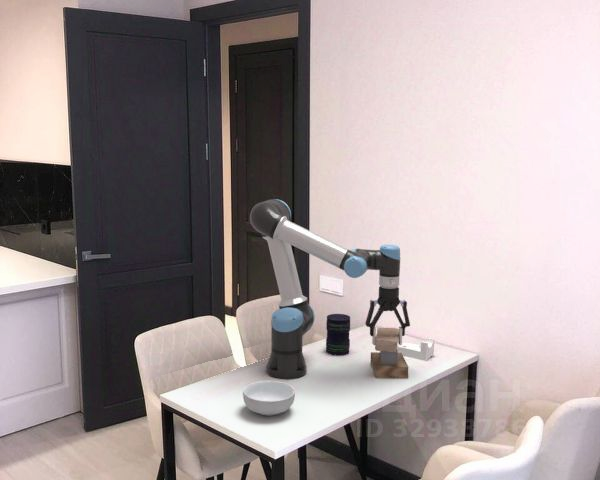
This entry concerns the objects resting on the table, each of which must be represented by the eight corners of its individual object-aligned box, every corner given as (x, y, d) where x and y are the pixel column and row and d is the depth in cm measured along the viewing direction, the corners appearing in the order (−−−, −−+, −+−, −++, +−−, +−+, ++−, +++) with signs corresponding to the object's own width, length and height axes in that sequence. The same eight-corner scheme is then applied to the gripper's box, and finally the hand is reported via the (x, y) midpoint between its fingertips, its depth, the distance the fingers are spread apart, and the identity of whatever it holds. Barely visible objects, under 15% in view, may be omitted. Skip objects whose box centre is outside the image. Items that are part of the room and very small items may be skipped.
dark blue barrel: (320, 352, 271) (321, 316, 269) (335, 346, 278) (336, 312, 276) (340, 357, 265) (341, 321, 262) (354, 351, 272) (355, 316, 270)
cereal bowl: (233, 407, 215) (233, 386, 214) (276, 396, 224) (276, 376, 223) (260, 426, 201) (260, 404, 200) (304, 414, 211) (305, 393, 210)
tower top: (380, 364, 244) (381, 351, 244) (380, 353, 257) (380, 340, 256) (397, 365, 244) (397, 352, 243) (395, 353, 257) (396, 341, 256)
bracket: (433, 356, 268) (434, 339, 267) (426, 361, 263) (426, 343, 261) (404, 350, 276) (405, 333, 275) (396, 354, 270) (397, 337, 269)
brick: (397, 352, 241) (397, 340, 240) (374, 351, 242) (374, 338, 241) (398, 339, 257) (399, 327, 256) (377, 338, 258) (377, 326, 258)
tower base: (375, 379, 243) (376, 366, 242) (370, 364, 259) (370, 352, 258) (407, 379, 243) (408, 366, 242) (400, 364, 259) (401, 352, 258)
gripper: (361, 288, 241) (359, 347, 245) (420, 288, 243) (417, 347, 246) (358, 284, 249) (356, 341, 252) (415, 284, 250) (413, 340, 254)
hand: (386, 344), depth 249 cm, fingers closed on brick, 9 cm apart
